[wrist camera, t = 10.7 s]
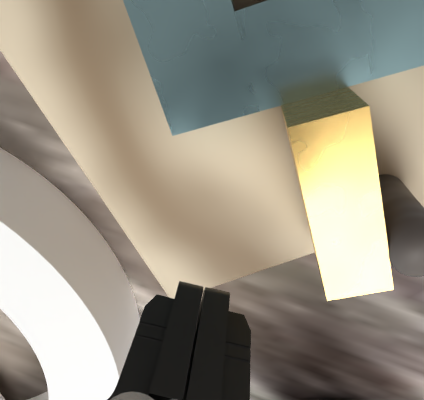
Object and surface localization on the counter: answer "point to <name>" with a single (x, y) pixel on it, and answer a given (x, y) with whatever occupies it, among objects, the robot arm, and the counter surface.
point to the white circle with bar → (62, 287)
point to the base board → (198, 150)
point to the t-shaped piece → (294, 101)
